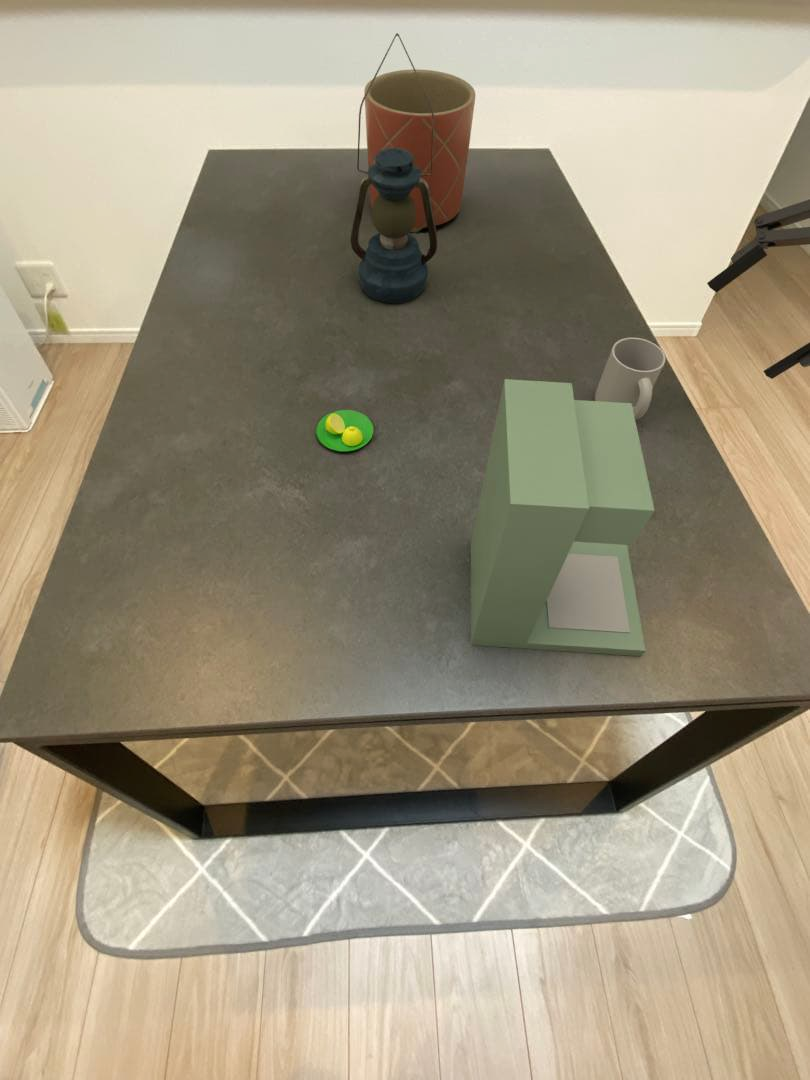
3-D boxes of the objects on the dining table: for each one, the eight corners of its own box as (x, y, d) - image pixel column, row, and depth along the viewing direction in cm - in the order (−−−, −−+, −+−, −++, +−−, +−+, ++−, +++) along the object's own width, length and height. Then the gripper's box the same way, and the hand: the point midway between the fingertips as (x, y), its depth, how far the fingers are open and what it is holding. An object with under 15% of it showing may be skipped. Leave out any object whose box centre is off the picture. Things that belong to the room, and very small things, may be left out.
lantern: (349, 303, 101) (333, 47, 72) (356, 263, 108) (345, 14, 79) (432, 308, 101) (450, 53, 72) (435, 268, 108) (452, 20, 79)
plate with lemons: (310, 449, 83) (308, 435, 80) (324, 409, 87) (322, 394, 85) (367, 458, 82) (366, 443, 80) (378, 417, 87) (378, 402, 84)
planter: (412, 246, 112) (416, 125, 95) (347, 205, 119) (341, 86, 103) (483, 213, 119) (498, 94, 102) (418, 176, 127) (423, 60, 110)
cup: (632, 384, 92) (653, 335, 84) (656, 432, 86) (682, 384, 79) (587, 388, 91) (604, 339, 84) (608, 436, 86) (629, 388, 78)
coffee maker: (623, 551, 75) (718, 391, 53) (641, 656, 67) (762, 519, 45) (470, 541, 75) (504, 378, 53) (470, 645, 67) (510, 503, 46)
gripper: (1018, 295, 61) (799, 416, 74) (877, 121, 67) (699, 261, 81) (1022, 277, 55) (785, 411, 69) (868, 89, 62) (679, 245, 75)
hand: (738, 330), depth 75 cm, fingers open, 13 cm apart
